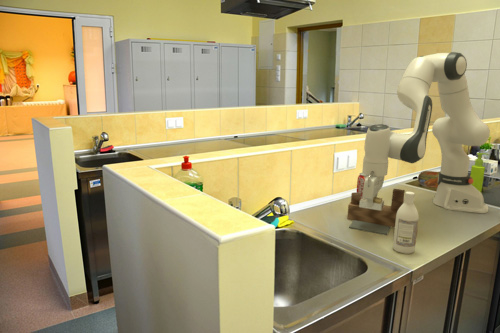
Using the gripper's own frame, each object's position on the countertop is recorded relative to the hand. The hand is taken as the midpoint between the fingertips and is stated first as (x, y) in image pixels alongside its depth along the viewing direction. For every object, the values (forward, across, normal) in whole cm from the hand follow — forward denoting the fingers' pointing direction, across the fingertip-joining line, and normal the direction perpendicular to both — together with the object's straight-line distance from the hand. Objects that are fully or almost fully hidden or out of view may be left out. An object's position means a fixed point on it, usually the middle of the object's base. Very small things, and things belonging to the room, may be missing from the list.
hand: (371, 204), depth 153 cm
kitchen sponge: (+1, 0, 0) cm, 1 cm away
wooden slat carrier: (+9, +9, 0) cm, 13 cm away
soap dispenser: (+10, +77, -37) cm, 86 cm away
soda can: (+10, +36, +10) cm, 38 cm away
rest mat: (+9, 0, 0) cm, 9 cm away
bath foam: (+10, -14, -14) cm, 22 cm away
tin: (+10, +76, -17) cm, 78 cm away
